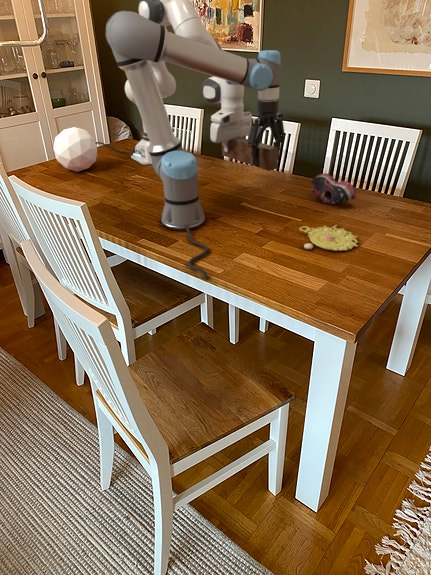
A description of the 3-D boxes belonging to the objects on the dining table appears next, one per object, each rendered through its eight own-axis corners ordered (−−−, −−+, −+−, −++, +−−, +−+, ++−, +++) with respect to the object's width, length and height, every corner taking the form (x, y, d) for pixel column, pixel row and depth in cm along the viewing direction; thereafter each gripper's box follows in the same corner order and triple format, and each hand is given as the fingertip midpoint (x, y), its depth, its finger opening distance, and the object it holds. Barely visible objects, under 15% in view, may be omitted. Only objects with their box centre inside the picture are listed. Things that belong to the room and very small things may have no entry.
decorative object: (343, 255, 128) (285, 234, 139) (342, 262, 130) (284, 241, 140) (372, 230, 142) (317, 213, 152) (371, 237, 143) (316, 219, 153)
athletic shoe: (320, 172, 177) (296, 180, 173) (357, 167, 157) (330, 175, 153) (326, 200, 180) (302, 208, 176) (363, 198, 160) (336, 207, 156)
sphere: (84, 186, 210) (70, 160, 191) (54, 166, 215) (37, 139, 196) (110, 158, 215) (99, 131, 196) (80, 139, 219) (66, 110, 201)
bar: (277, 168, 168) (278, 147, 164) (268, 171, 166) (269, 149, 162) (230, 153, 187) (230, 134, 182) (222, 155, 184) (221, 136, 180)
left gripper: (246, 109, 181) (246, 143, 189) (207, 117, 171) (208, 153, 178) (257, 111, 177) (256, 146, 185) (217, 119, 166) (218, 156, 174)
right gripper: (282, 94, 165) (279, 154, 177) (237, 102, 153) (237, 166, 165) (297, 96, 160) (293, 158, 172) (252, 105, 148) (251, 171, 160)
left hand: (232, 149), depth 181 cm, fingers closed on bar, 4 cm apart
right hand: (265, 162), depth 169 cm, fingers open, 10 cm apart
